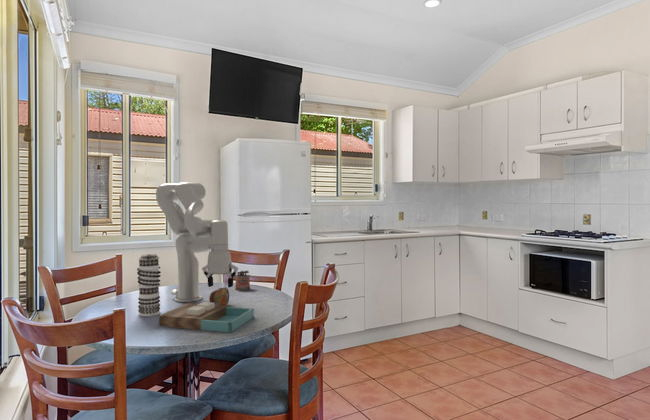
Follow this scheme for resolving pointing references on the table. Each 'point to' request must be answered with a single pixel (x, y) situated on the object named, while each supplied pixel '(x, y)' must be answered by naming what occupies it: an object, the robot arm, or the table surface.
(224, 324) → the box
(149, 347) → the table surface
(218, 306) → the plate
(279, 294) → the table surface
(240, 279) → the lighter
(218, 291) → the tin
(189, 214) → the robot arm
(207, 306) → the cream tile
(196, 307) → the cream tile
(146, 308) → the decorative candle
